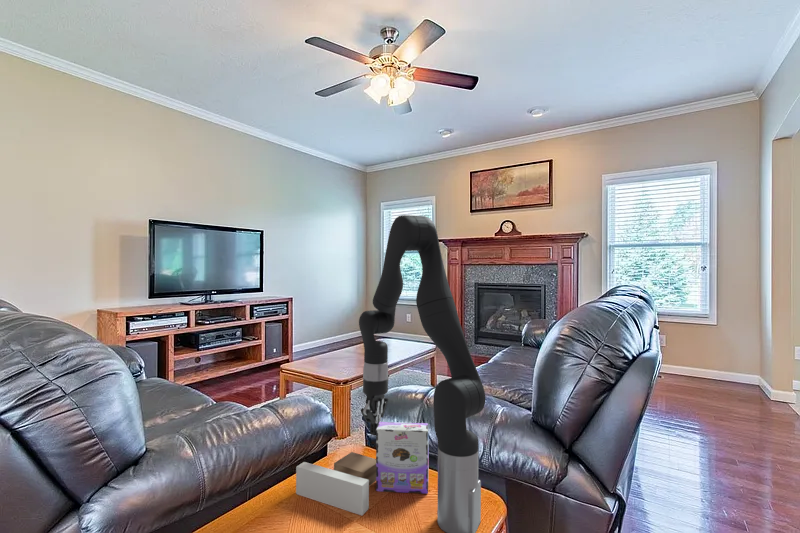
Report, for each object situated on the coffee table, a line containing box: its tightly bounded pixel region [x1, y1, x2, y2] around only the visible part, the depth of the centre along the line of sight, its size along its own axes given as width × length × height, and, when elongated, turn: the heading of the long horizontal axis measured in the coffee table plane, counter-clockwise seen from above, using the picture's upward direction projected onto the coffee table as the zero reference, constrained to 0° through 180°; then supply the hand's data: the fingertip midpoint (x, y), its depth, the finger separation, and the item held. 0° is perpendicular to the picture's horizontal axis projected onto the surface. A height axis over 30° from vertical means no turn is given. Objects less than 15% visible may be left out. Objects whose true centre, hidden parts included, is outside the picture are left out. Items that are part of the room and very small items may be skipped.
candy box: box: [375, 421, 430, 494], centre depth 106 cm, size 14×6×16 cm, turn 84°
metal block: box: [333, 451, 376, 487], centre depth 110 cm, size 10×8×5 cm
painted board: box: [295, 461, 370, 516], centre depth 100 cm, size 20×3×7 cm, turn 64°
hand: (374, 434), depth 120 cm, fingers closed
